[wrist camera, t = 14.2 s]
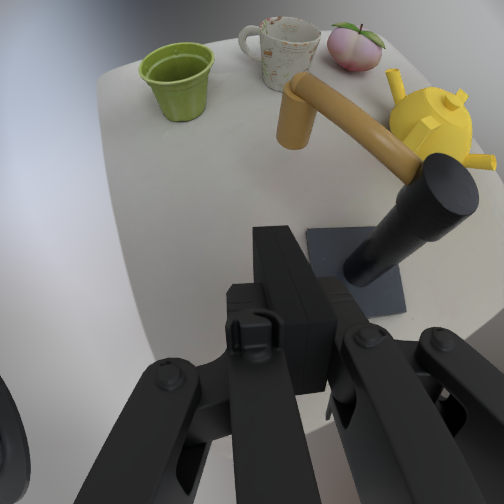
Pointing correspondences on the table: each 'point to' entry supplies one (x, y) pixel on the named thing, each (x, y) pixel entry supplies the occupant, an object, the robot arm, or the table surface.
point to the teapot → (434, 123)
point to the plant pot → (179, 78)
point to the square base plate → (365, 261)
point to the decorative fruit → (355, 47)
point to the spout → (384, 157)
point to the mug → (282, 48)
